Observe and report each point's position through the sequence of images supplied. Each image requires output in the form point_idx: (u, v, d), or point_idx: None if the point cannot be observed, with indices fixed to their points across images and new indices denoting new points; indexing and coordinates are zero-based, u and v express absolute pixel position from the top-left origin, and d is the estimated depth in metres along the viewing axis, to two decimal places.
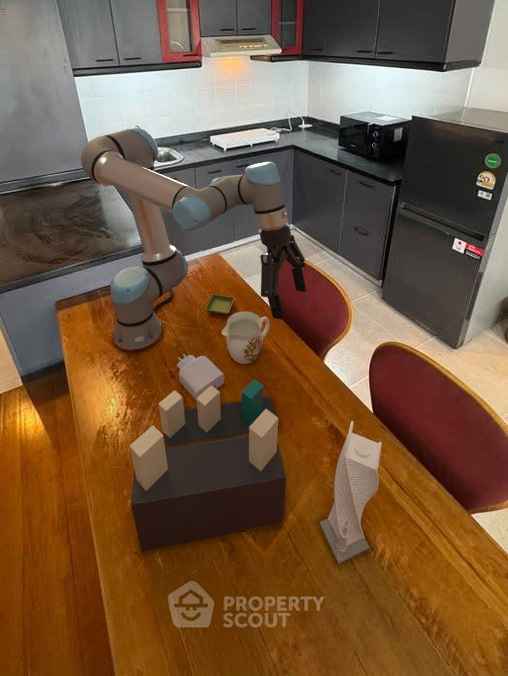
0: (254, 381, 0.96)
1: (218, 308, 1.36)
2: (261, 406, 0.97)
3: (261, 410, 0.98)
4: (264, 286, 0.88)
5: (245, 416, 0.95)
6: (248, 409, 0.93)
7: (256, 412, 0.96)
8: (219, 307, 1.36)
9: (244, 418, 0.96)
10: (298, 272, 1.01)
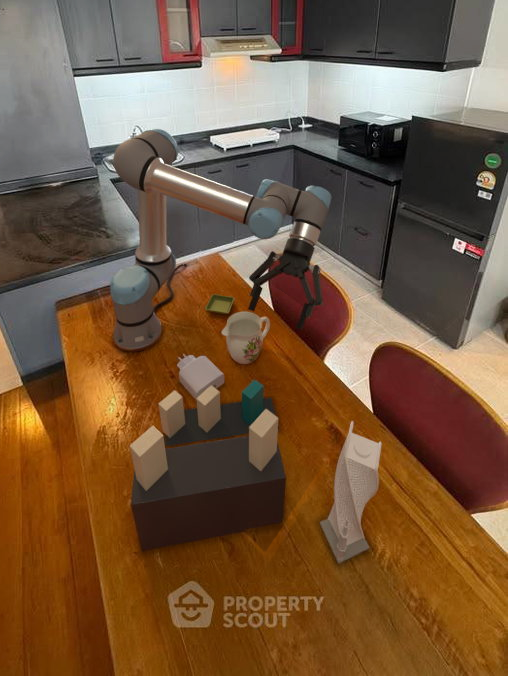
0: (254, 381, 0.96)
1: (218, 308, 1.36)
2: (261, 406, 0.97)
3: (261, 410, 0.98)
4: (320, 294, 0.94)
5: (245, 416, 0.95)
6: (248, 409, 0.93)
7: (256, 412, 0.96)
8: (219, 307, 1.36)
9: (244, 418, 0.96)
10: (260, 290, 1.01)
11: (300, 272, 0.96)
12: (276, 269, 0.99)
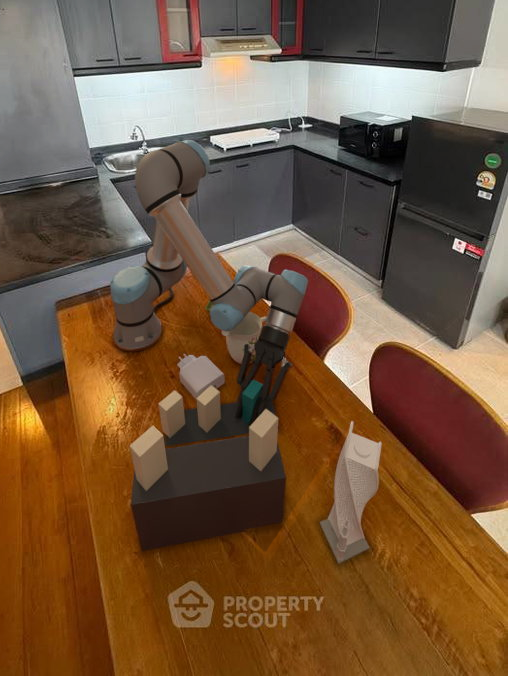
0: (253, 381, 0.96)
1: None
2: None
3: None
4: (277, 391, 0.93)
5: (246, 417, 0.95)
6: (250, 410, 0.93)
7: None
8: None
9: (245, 419, 0.96)
10: None
11: (270, 364, 0.95)
12: (256, 363, 0.97)
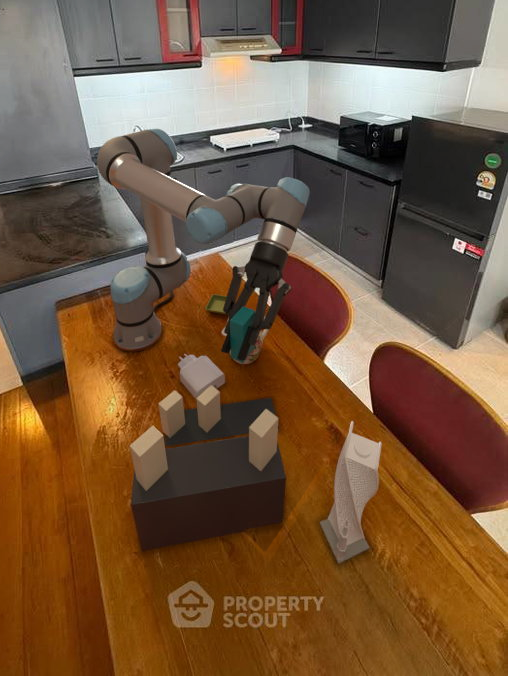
0: (243, 308, 0.78)
1: (218, 308, 1.36)
2: None
3: None
4: (272, 318, 0.75)
5: (235, 352, 0.77)
6: (240, 341, 0.75)
7: None
8: (219, 307, 1.36)
9: (234, 355, 0.78)
10: None
11: (264, 286, 0.77)
12: (247, 287, 0.78)
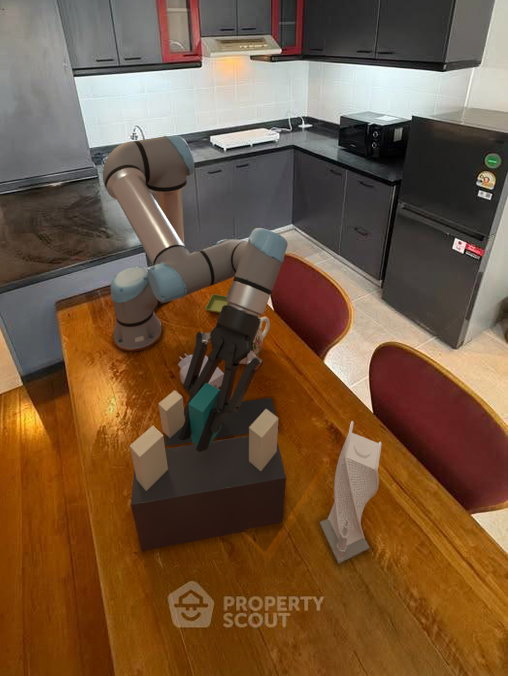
0: (206, 385, 0.66)
1: (218, 308, 1.36)
2: None
3: None
4: (239, 400, 0.64)
5: (196, 438, 0.66)
6: (201, 428, 0.64)
7: None
8: (219, 307, 1.36)
9: (195, 441, 0.66)
10: None
11: (230, 361, 0.66)
12: (211, 360, 0.67)
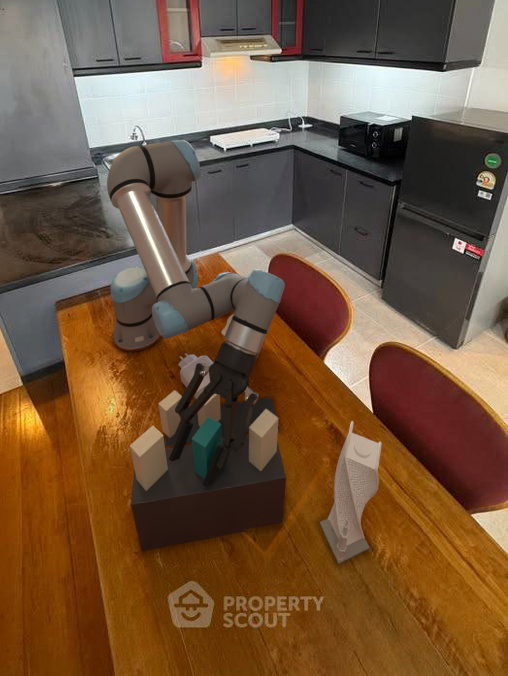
0: (208, 419, 0.70)
1: None
2: None
3: None
4: (243, 436, 0.68)
5: (199, 469, 0.70)
6: (203, 461, 0.68)
7: None
8: None
9: (198, 472, 0.70)
10: (189, 428, 0.72)
11: (229, 398, 0.70)
12: (206, 392, 0.72)
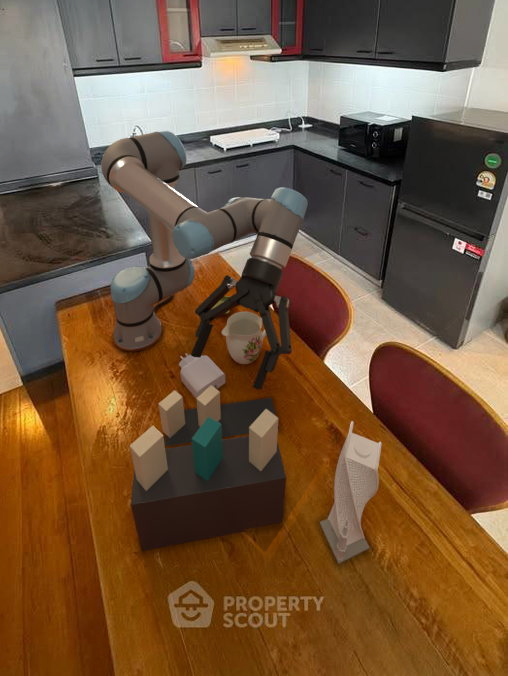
0: (208, 419, 0.70)
1: None
2: (220, 451, 0.72)
3: (220, 456, 0.72)
4: (288, 338, 0.67)
5: (199, 469, 0.70)
6: (203, 461, 0.68)
7: (214, 460, 0.70)
8: None
9: (198, 472, 0.70)
10: (209, 328, 0.74)
11: (261, 306, 0.70)
12: (230, 301, 0.73)
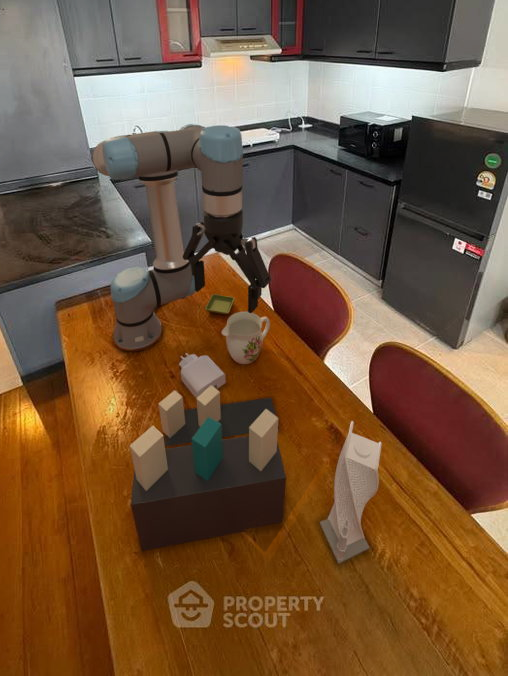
0: (208, 419, 0.70)
1: (218, 308, 1.36)
2: (220, 451, 0.72)
3: (220, 456, 0.72)
4: (263, 274, 0.73)
5: (199, 469, 0.70)
6: (203, 461, 0.68)
7: (214, 460, 0.70)
8: (219, 307, 1.36)
9: (198, 472, 0.70)
10: (201, 266, 0.82)
11: (231, 253, 0.73)
12: (205, 249, 0.77)
